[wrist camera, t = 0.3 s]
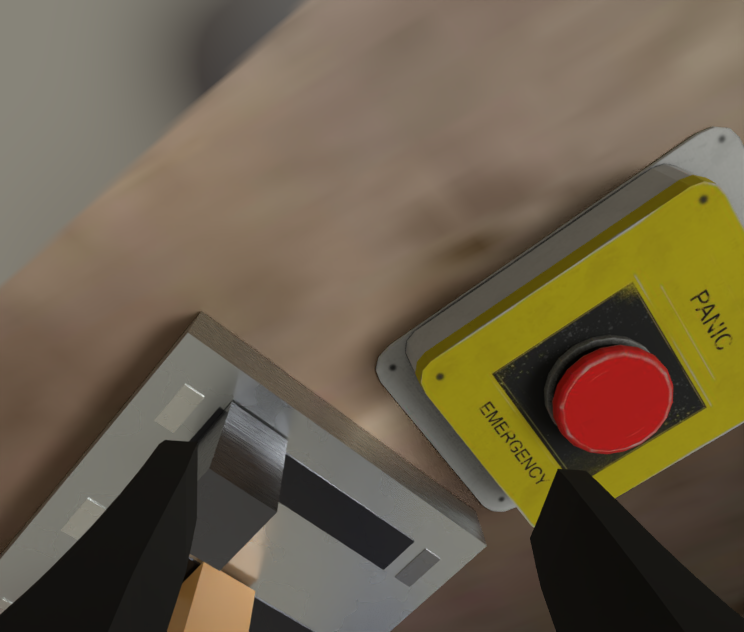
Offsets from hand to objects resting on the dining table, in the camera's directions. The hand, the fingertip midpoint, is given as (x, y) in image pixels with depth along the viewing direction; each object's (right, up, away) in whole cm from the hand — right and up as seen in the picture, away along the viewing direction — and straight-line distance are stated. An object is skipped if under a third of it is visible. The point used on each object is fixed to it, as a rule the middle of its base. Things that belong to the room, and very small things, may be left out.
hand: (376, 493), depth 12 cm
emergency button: (+8, +3, +11) cm, 14 cm away
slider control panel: (-7, -7, +13) cm, 16 cm away
